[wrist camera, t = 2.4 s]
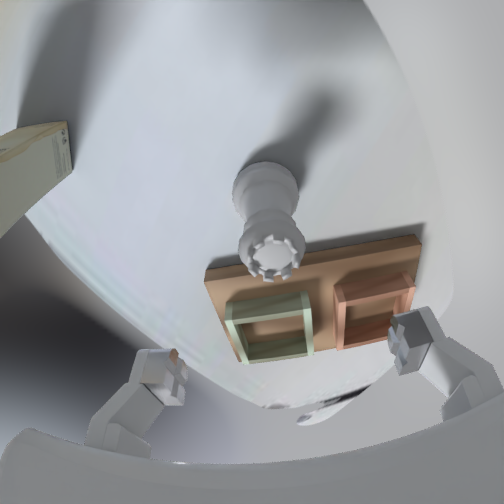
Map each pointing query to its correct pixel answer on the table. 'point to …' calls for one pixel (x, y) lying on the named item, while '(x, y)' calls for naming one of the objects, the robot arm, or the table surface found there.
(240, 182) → the rook chess piece
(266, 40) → the table surface
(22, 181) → the skincare box
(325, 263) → the board
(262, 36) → the table surface
